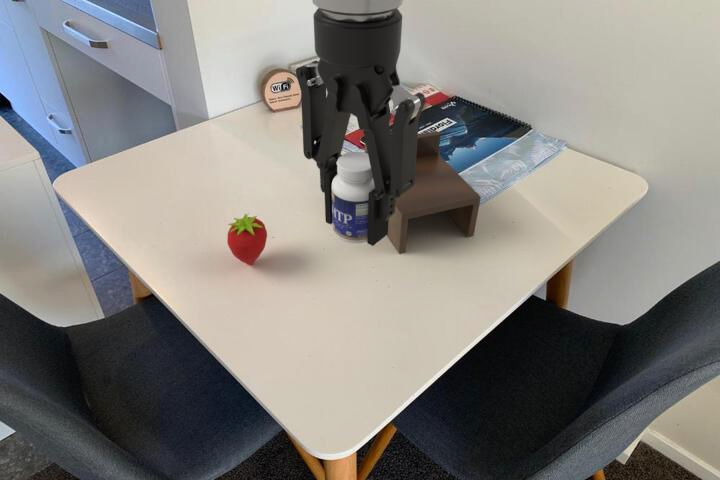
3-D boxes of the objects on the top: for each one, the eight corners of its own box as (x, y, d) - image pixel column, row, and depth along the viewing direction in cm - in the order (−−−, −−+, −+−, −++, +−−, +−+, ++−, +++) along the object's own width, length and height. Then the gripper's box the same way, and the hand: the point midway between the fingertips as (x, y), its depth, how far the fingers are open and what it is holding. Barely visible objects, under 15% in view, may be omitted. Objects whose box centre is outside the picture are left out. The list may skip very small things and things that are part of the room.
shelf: (473, 235, 89) (485, 175, 82) (399, 254, 85) (403, 192, 78) (431, 187, 101) (437, 130, 93) (363, 201, 97) (364, 143, 89)
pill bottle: (323, 225, 59) (320, 156, 53) (362, 211, 61) (363, 143, 56) (349, 251, 56) (349, 180, 50) (389, 234, 58) (392, 164, 52)
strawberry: (274, 248, 86) (268, 198, 80) (265, 280, 80) (258, 228, 74) (238, 247, 86) (229, 197, 80) (227, 278, 80) (216, 227, 74)
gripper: (476, 19, 42) (444, 244, 56) (308, -18, 50) (318, 185, 65) (425, 43, 37) (404, 281, 52) (249, -2, 46) (274, 212, 60)
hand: (356, 227), depth 58 cm, fingers closed on pill bottle, 5 cm apart
